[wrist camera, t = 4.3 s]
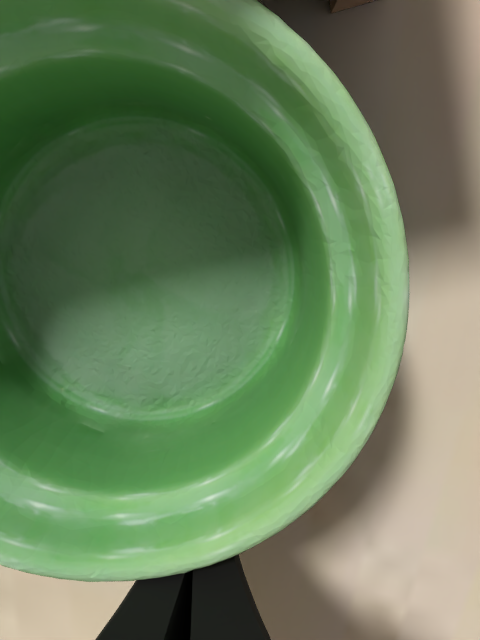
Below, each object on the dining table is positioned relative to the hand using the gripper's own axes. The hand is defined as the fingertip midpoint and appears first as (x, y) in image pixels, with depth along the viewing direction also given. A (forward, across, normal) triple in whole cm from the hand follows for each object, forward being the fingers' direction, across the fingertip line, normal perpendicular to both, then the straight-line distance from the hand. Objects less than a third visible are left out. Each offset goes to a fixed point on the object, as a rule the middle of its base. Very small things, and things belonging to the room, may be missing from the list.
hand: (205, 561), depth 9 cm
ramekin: (+3, +1, -6) cm, 7 cm away
